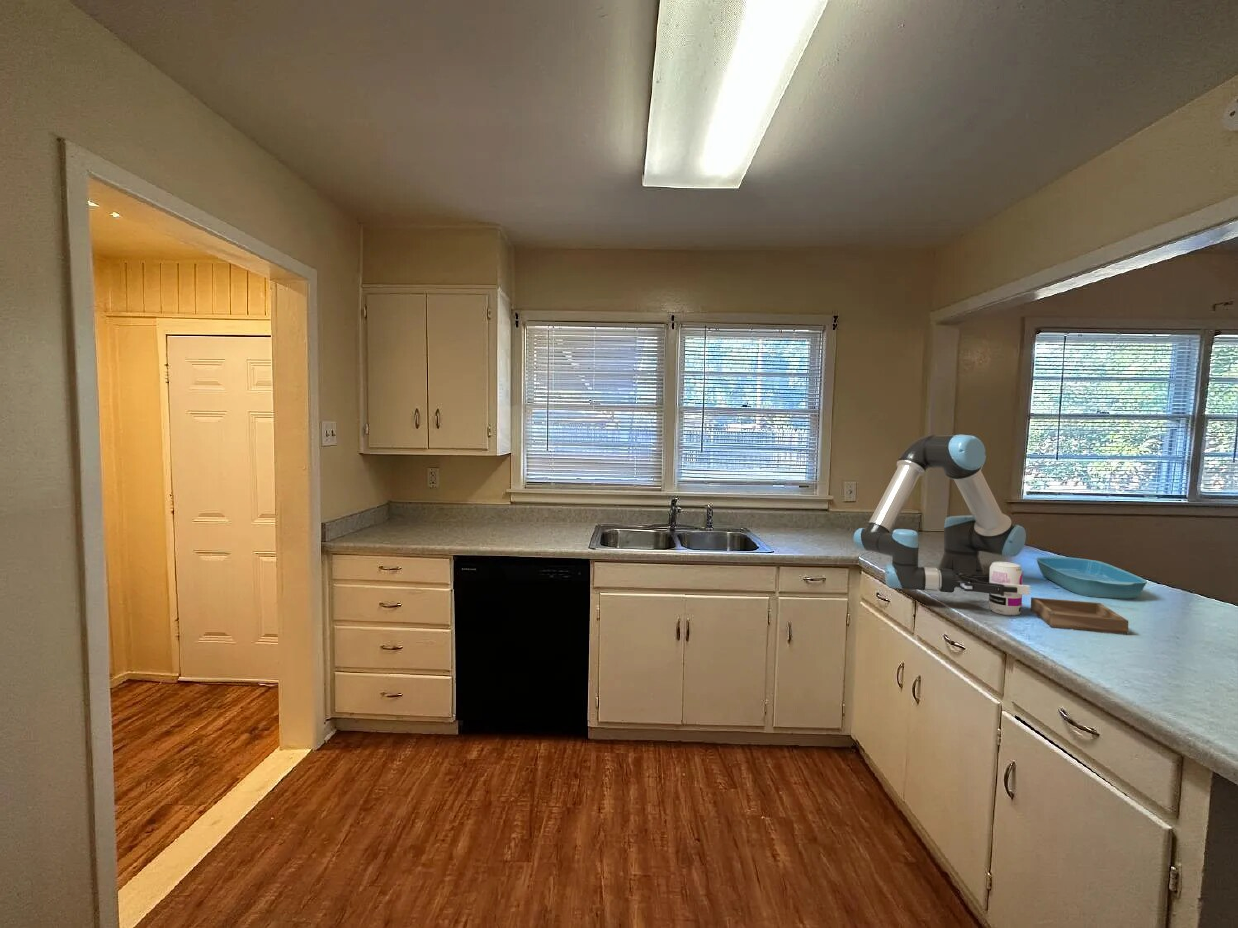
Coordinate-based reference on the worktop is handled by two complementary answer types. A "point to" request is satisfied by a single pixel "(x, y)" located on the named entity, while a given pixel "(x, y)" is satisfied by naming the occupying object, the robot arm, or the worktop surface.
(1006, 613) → the supplement can
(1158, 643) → the worktop surface
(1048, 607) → the walnut tray
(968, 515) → the robot arm
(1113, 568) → the casserole dish
